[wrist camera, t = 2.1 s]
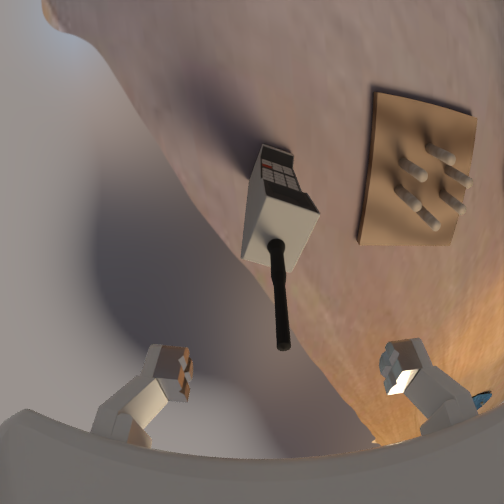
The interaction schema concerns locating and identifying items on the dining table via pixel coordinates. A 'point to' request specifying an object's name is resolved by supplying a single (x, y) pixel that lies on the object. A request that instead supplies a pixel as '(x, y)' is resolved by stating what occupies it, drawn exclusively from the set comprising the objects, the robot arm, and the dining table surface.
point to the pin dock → (415, 173)
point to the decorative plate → (481, 400)
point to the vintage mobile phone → (277, 225)
